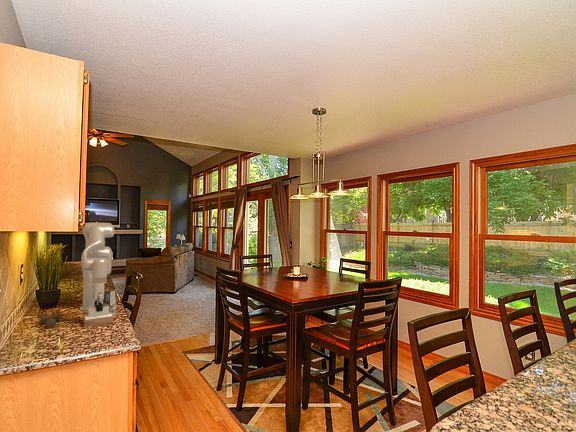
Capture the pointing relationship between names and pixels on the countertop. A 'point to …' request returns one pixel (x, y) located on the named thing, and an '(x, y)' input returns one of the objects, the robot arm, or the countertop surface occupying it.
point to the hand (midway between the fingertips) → (98, 309)
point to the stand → (97, 320)
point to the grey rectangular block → (50, 320)
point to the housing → (93, 312)
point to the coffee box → (110, 300)
